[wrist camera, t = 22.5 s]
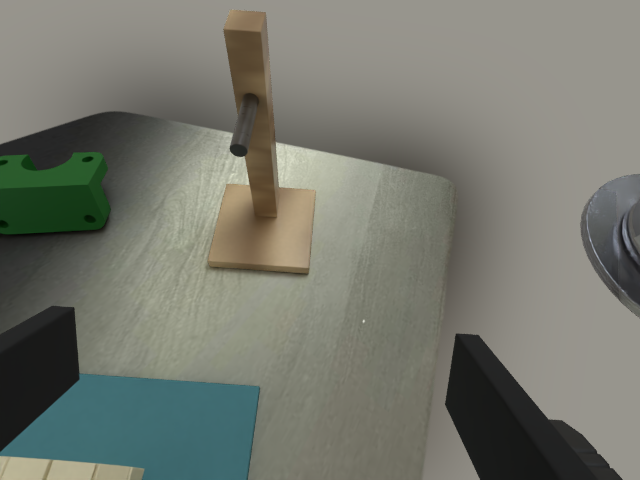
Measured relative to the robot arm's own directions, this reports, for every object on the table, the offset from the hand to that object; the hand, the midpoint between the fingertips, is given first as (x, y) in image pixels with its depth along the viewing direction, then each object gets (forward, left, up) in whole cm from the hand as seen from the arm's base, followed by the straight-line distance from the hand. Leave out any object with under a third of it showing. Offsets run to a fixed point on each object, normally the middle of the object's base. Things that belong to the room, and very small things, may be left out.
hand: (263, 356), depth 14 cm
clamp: (+31, -11, -22) cm, 40 cm away
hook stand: (+10, -17, -21) cm, 29 cm away
